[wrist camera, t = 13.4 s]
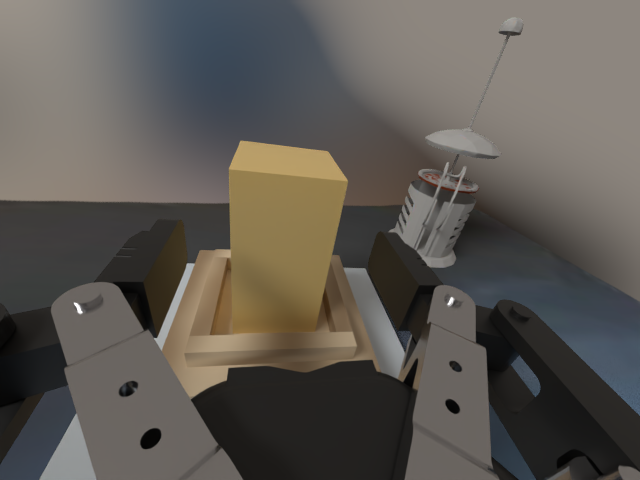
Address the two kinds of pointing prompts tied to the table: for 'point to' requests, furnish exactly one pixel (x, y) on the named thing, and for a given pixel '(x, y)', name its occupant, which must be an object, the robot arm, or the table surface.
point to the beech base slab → (257, 348)
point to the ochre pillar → (281, 235)
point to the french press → (447, 187)
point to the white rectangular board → (71, 454)
